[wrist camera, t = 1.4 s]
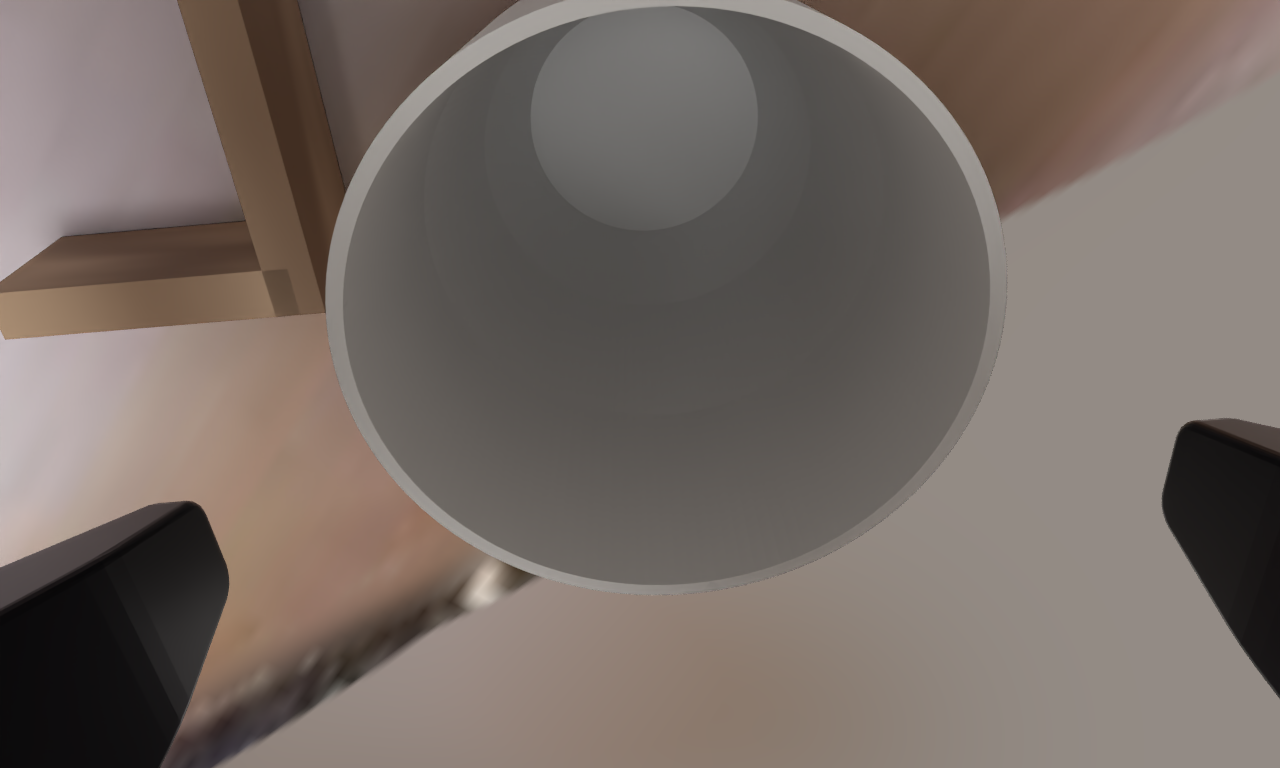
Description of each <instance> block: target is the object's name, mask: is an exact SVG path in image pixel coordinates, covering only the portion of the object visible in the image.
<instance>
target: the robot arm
mask: <svg viewBox="0 0 1280 768" xmlns="http://www.w3.org/2000/svg"><path fill="white" fill-rule="evenodd" d="M1162 509H1163V514H1164V517H1165V521H1166V523H1167V525H1168V527H1169V529H1170V530H1171V532H1172V534H1173V536H1174V537H1175V539H1176V540H1177V542H1178V544H1179V545H1180V547H1181V549H1182V551H1183V552H1184V554H1185V556H1186V557H1187V559H1188V561H1189V562H1190V564H1191V566H1192V567H1193V569H1194V571H1195V572H1196V574H1197V576H1198V577H1199V579H1200V581H1201V583H1202V584H1203V586H1204V588H1205V589H1206V591H1207V593H1208V594H1209V596H1210V597H1211V599H1212V601H1213V603H1214V604H1215V606H1216V608H1217V609H1218V611H1219V612H1220V614H1221V616H1222V618H1223V619H1224V621H1225V622H1226V624H1227V626H1228V627H1229V629H1230V631H1231V632H1232V634H1233V635H1234V636H1235V638H1236V640H1237V641H1238V643H1239V645H1240V646H1241V647H1242V649H1243V650H1244V652H1245V653H1246V654H1247V656H1248V657H1249V659H1250V660H1251V661H1252V663H1253V664H1254V666H1255V667H1256V668H1257V670H1258V671H1259V672H1260V673H1261V675H1262V676H1263V677H1264V679H1265V680H1266V681H1267V683H1268V684H1269V685H1270V687H1271V688H1272V689H1273V691H1274V692H1275V693H1276V695H1277V696H1278V697H1279V698H1280V428H1275V427H1271V426H1266V425H1261V424H1257V423H1252V422H1247V421H1243V420H1239V419H1231V418H1220V419H1208V420H1196V421H1190V422H1188V423H1186V424H1185V425H1184V426H1182V427H1181V429H1180V430H1179V432H1178V434H1177V437H1176V440H1175V444H1174V448H1173V452H1172V457H1171V460H1170V464H1169V468H1168V472H1167V476H1166V480H1165V484H1164V488H1163V493H1162ZM228 591H229V574H228V569H227V565H226V563H225V560H224V558H223V555H222V553H221V550H220V548H219V545H218V543H217V540H216V538H215V535H214V533H213V530H212V528H211V526H210V523H209V521H208V518H207V516H206V514H205V512H204V510H203V509H202V507H201V506H200V505H198V504H196V503H195V502H192V501H181V502H168V503H157V504H153V505H148V506H146V507H144V508H141V509H139V510H137V511H134V512H132V513H129V514H127V515H125V516H122V517H120V518H117V519H115V520H113V521H110V522H108V523H105V524H103V525H101V526H98V527H96V528H94V529H91V530H89V531H86V532H84V533H82V534H79V535H77V536H74V537H72V538H70V539H67V540H65V541H63V542H60V543H58V544H55V545H53V546H51V547H48V548H46V549H43V550H41V551H39V552H36V553H34V554H31V555H29V556H27V557H24V558H22V559H20V560H17V561H15V562H12V563H10V564H8V565H5V566H3V567H0V768H160V767H161V765H162V763H163V761H164V759H165V757H166V755H167V753H168V751H169V749H170V747H171V745H172V743H173V740H174V738H175V736H176V734H177V732H178V730H179V728H180V725H181V723H182V720H183V718H184V715H185V713H186V711H187V708H188V706H189V703H190V700H191V698H192V695H193V692H194V689H195V686H196V684H197V681H198V678H199V675H200V673H201V670H202V667H203V664H204V661H205V659H206V656H207V653H208V650H209V647H210V645H211V642H212V639H213V636H214V633H215V631H216V628H217V625H218V622H219V619H220V617H221V614H222V611H223V608H224V606H225V603H226V600H227V596H228Z"/></svg>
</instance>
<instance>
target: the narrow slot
mask: <svg viewBox="0 0 1280 768" xmlns="http://www.w3.org/2000/svg"><path fill="white" fill-rule="evenodd" d="M177 2H178V5H179V8H180V11H181V14H182V18H183V21H184V24H185V27H186V30H187V34H188V37H189V40H190V43H191V46H192V50H193V53H194V56H195V59H196V62H197V66H198V69H199V72H200V75H201V78H202V82H203V85H204V88H205V91H206V94H207V98H208V101H209V104H210V107H211V111H212V114H213V117H214V120H215V123H216V127H217V130H218V133H219V136H220V139H221V143H222V146H223V149H224V152H225V155H226V159H227V162H228V165H229V168H230V171H231V175H232V178H233V181H234V184H235V187H236V191H237V194H238V197H239V200H240V203H241V207H242V210H243V213H244V216H245V220H246V221H242V222H230V223H218V224H207V225H195V226H184V227H172V228H160V229H149V230H137V231H126V232H114V233H102V234H91V235H79V236H68V237H61V238H60V239H58V240H57V241H55V242H54V243H53V244H51V245H50V246H49V247H47V248H46V249H45V250H43V251H42V252H40V253H39V254H38V255H36V256H35V257H34V258H32V259H31V260H30V261H28V262H27V263H25V264H24V265H23V266H21V267H20V268H19V269H17V270H16V271H15V272H13V273H12V274H11V275H9V276H8V277H6V278H5V279H4V280H2V281H1V282H0V330H1V332H2V334H3V336H4V338H5V340H6V339H18V338H30V337H42V336H54V335H66V334H78V333H89V332H101V331H113V330H125V329H137V328H149V327H161V326H173V325H185V324H197V323H209V322H221V321H233V320H245V319H256V318H268V317H280V316H292V315H304V314H316V313H326V305H325V292H326V273H327V265H328V257H329V251H330V245H331V240H332V236H333V232H334V228H335V224H336V221H337V217H338V214H339V211H340V208H341V205H342V202H343V200H344V197H345V194H346V193H345V189H344V185H343V181H342V177H341V173H340V169H339V165H338V161H337V157H336V153H335V149H334V145H333V141H332V137H331V133H330V129H329V125H328V121H327V117H326V113H325V109H324V105H323V101H322V97H321V93H320V90H319V86H318V82H317V78H316V74H315V70H314V66H313V62H312V58H311V54H310V50H309V46H308V42H307V38H306V34H305V30H304V26H303V22H302V18H301V14H300V10H299V6H298V2H297V0H177Z"/></svg>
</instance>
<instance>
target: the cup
mask: <svg viewBox="0 0 1280 768" xmlns="http://www.w3.org/2000/svg"><path fill="white" fill-rule="evenodd" d="M1006 301H1007V263H1006V251H1005V243H1004V236H1003V231H1002V226H1001V221H1000V217H999V213H998V209H997V205H996V202H995V199H994V196H993V193H992V190H991V187H990V185H989V182H988V179H987V177H986V174H985V172H984V170H983V168H982V166H981V163H980V161H979V159H978V157H977V155H976V154H975V152H974V150H973V148H972V146H971V144H970V143H969V141H968V139H967V138H966V136H965V134H964V133H963V131H962V130H961V128H960V127H959V125H958V124H957V122H956V121H955V119H954V118H953V117H952V115H951V114H950V113H949V111H948V110H947V109H946V108H945V106H944V105H943V104H942V103H941V101H940V100H939V99H938V98H937V97H936V96H935V95H934V93H933V92H932V91H931V90H930V89H929V88H928V87H927V86H926V85H925V84H924V83H923V82H922V81H921V80H920V79H919V78H918V77H917V76H916V75H915V74H914V73H913V72H911V71H910V70H909V69H908V68H907V67H906V66H905V65H903V64H902V63H901V62H900V61H899V60H897V59H896V58H895V57H894V56H892V55H891V54H890V53H888V52H887V51H886V50H884V49H883V48H881V47H880V46H879V45H877V44H876V43H874V42H873V41H871V40H869V39H868V38H866V37H865V36H863V35H862V34H860V33H858V32H856V31H855V30H853V29H851V28H849V27H847V26H846V25H844V24H842V23H840V22H838V21H836V20H834V19H832V18H830V17H828V16H827V15H825V14H823V13H821V12H819V11H817V10H815V9H813V8H811V7H809V6H807V5H805V4H804V3H802V2H800V1H798V0H520V1H518V2H517V3H515V4H514V5H512V6H511V7H509V8H508V9H507V10H505V11H504V12H503V13H502V14H500V15H499V16H498V17H496V18H495V19H494V20H493V21H492V22H491V23H490V24H488V25H487V26H486V27H485V28H484V29H483V30H482V31H480V32H479V33H478V34H477V35H476V36H475V37H474V38H472V39H471V40H470V41H469V42H468V43H467V44H465V45H464V46H463V47H462V48H461V49H460V50H459V51H457V52H456V53H455V54H454V55H453V56H452V57H451V58H449V59H448V60H447V61H446V62H445V63H444V64H443V65H441V66H440V67H439V68H438V69H437V70H436V71H435V72H433V73H432V74H431V75H430V76H429V77H428V78H427V79H425V80H424V81H423V82H422V83H421V84H420V85H419V86H418V87H417V88H416V89H415V90H414V91H413V92H412V93H411V94H410V95H409V96H408V97H407V98H406V100H405V101H404V102H403V103H402V104H401V105H400V106H399V107H398V108H397V110H396V111H395V112H394V113H393V115H392V116H391V117H390V118H389V119H388V121H387V122H386V123H385V125H384V126H383V128H382V129H381V130H380V132H379V133H378V134H377V136H376V138H375V139H374V141H373V142H372V144H371V145H370V147H369V148H368V150H367V152H366V153H365V155H364V157H363V159H362V160H361V162H360V164H359V166H358V168H357V170H356V172H355V174H354V176H353V178H352V180H351V182H350V185H349V187H348V190H347V192H346V194H345V197H344V200H343V202H342V205H341V208H340V211H339V214H338V217H337V221H336V224H335V228H334V232H333V236H332V240H331V245H330V251H329V257H328V265H327V273H326V292H325V305H326V322H327V332H328V339H329V345H330V350H331V355H332V360H333V364H334V368H335V371H336V375H337V378H338V381H339V384H340V387H341V390H342V393H343V396H344V398H345V401H346V403H347V406H348V408H349V410H350V412H351V414H352V417H353V419H354V421H355V423H356V425H357V427H358V428H359V430H360V432H361V434H362V436H363V437H364V439H365V441H366V442H367V444H368V446H369V447H370V449H371V450H372V452H373V453H374V455H375V456H376V458H377V459H378V460H379V462H380V463H381V464H382V466H383V467H384V468H385V470H386V471H387V472H388V473H389V475H390V476H391V477H392V478H393V479H394V481H395V482H396V483H397V484H398V485H399V486H400V487H401V488H402V490H403V491H404V492H405V493H406V494H407V495H408V496H409V497H410V498H411V499H412V500H413V501H414V502H415V503H416V504H418V505H419V506H420V507H421V508H422V509H423V510H424V511H425V512H426V513H428V514H429V515H430V516H431V517H432V518H434V519H435V520H436V521H437V522H439V523H440V524H441V525H442V526H444V527H445V528H447V529H448V530H449V531H451V532H452V533H454V534H455V535H457V536H458V537H460V538H461V539H463V540H464V541H466V542H467V543H469V544H471V545H472V546H474V547H476V548H477V549H479V550H481V551H483V552H485V553H487V554H488V555H490V556H492V557H494V558H496V559H498V560H500V561H503V562H505V563H507V564H509V565H512V566H514V567H516V568H519V569H521V570H524V571H526V572H529V573H532V574H535V575H537V576H540V577H543V578H547V579H550V580H553V581H557V582H561V583H564V584H568V585H573V586H577V587H582V588H587V589H592V590H598V591H605V592H613V593H622V594H635V595H678V594H692V593H702V592H709V591H716V590H722V589H728V588H733V587H738V586H742V585H747V584H750V583H754V582H758V581H761V580H765V579H768V578H771V577H775V576H778V575H781V574H784V573H786V572H789V571H792V570H794V569H797V568H799V567H802V566H804V565H807V564H809V563H811V562H813V561H816V560H818V559H820V558H822V557H824V556H826V555H828V554H830V553H832V552H833V551H836V550H838V549H839V548H841V547H843V546H844V545H846V544H848V543H850V542H851V541H853V540H855V539H856V538H858V537H860V536H861V535H863V534H864V533H865V532H867V531H869V530H870V529H871V528H873V527H874V526H876V525H877V524H878V523H880V522H881V521H882V520H884V519H885V518H886V517H888V516H889V515H890V514H891V513H893V512H894V511H895V510H896V509H897V508H898V507H899V506H901V505H902V504H903V503H904V502H905V501H907V500H908V499H909V497H910V496H912V495H913V494H914V493H915V492H916V491H917V490H918V489H919V488H920V487H921V486H922V485H923V484H924V483H925V482H926V481H927V479H928V478H929V477H930V476H931V475H932V474H933V473H934V472H935V470H936V469H937V468H938V467H939V466H940V464H941V463H942V462H943V461H944V459H945V458H946V457H947V455H948V454H949V453H950V451H951V450H952V449H953V447H954V446H955V444H956V443H957V441H958V440H959V438H960V437H961V435H962V434H963V432H964V430H965V429H966V427H967V425H968V424H969V422H970V420H971V418H972V416H973V414H974V412H975V411H976V409H977V407H978V404H979V403H980V400H981V398H982V396H983V394H984V391H985V389H986V387H987V384H988V381H989V379H990V376H991V373H992V371H993V367H994V364H995V361H996V358H997V354H998V350H999V346H1000V342H1001V337H1002V332H1003V326H1004V319H1005V312H1006Z"/></svg>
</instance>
